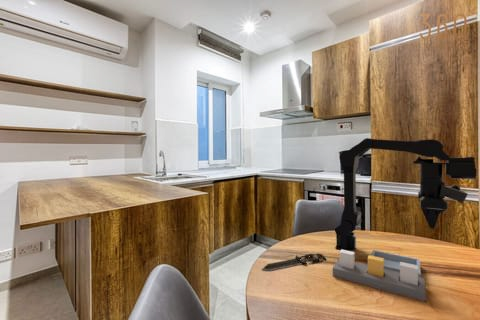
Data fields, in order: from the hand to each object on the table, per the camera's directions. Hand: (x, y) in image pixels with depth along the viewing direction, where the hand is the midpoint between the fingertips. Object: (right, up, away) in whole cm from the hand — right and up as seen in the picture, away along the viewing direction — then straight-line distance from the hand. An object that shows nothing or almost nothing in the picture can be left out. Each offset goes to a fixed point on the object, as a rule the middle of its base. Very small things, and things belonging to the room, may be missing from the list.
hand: (430, 224), depth 76 cm
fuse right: (-16, -15, -12) cm, 25 cm away
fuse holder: (-22, -15, -7) cm, 28 cm away
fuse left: (-29, -15, -2) cm, 33 cm away
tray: (-12, -15, 0) cm, 19 cm away
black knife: (-44, -16, +6) cm, 47 cm away
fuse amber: (-22, -15, -7) cm, 28 cm away
